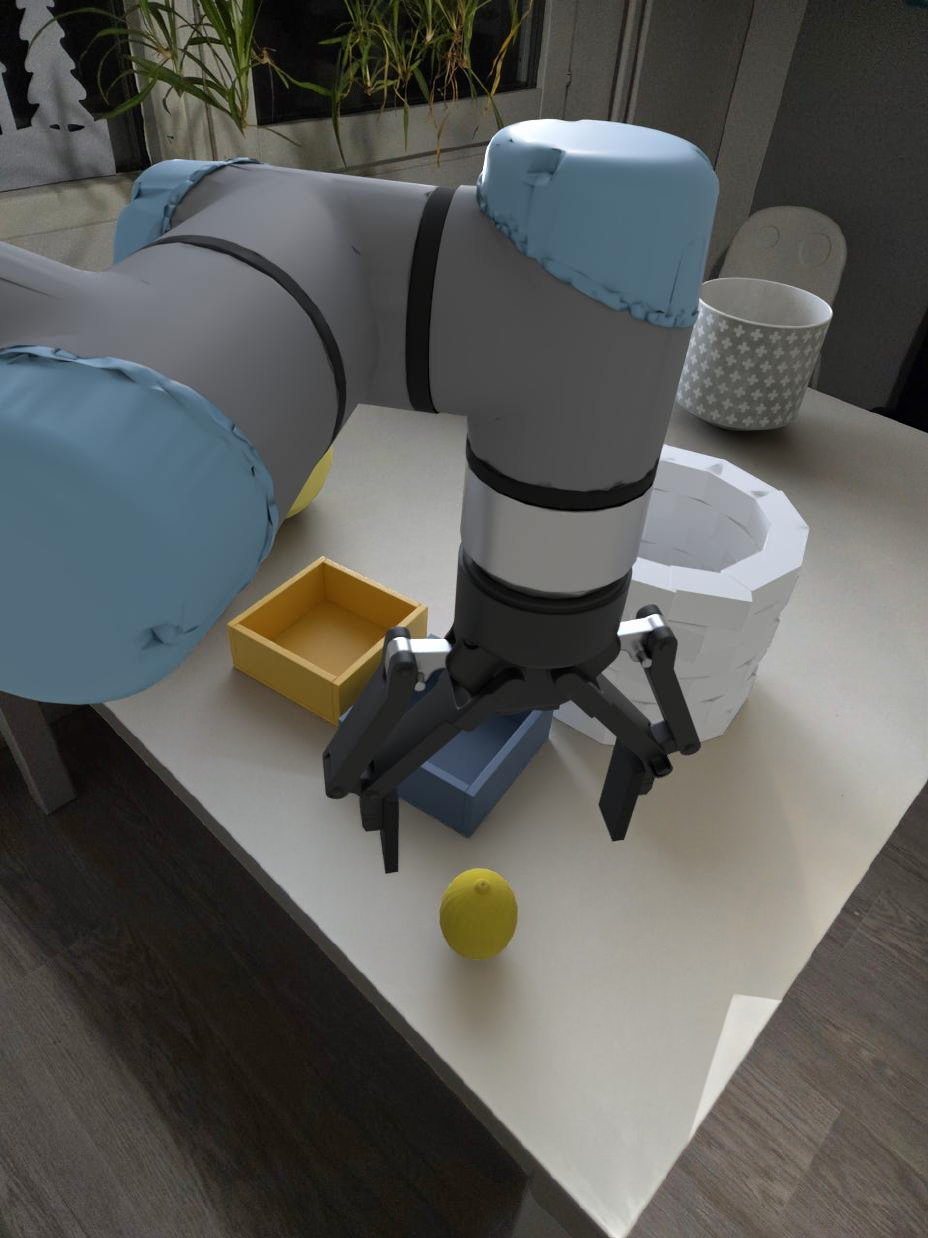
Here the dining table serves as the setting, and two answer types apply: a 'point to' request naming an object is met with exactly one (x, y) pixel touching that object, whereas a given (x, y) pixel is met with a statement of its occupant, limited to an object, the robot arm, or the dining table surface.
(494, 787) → the blue bin
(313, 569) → the yellow bin
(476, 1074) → the dining table surface
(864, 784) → the dining table surface
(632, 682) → the white brick well
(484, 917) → the lemon
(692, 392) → the planter
